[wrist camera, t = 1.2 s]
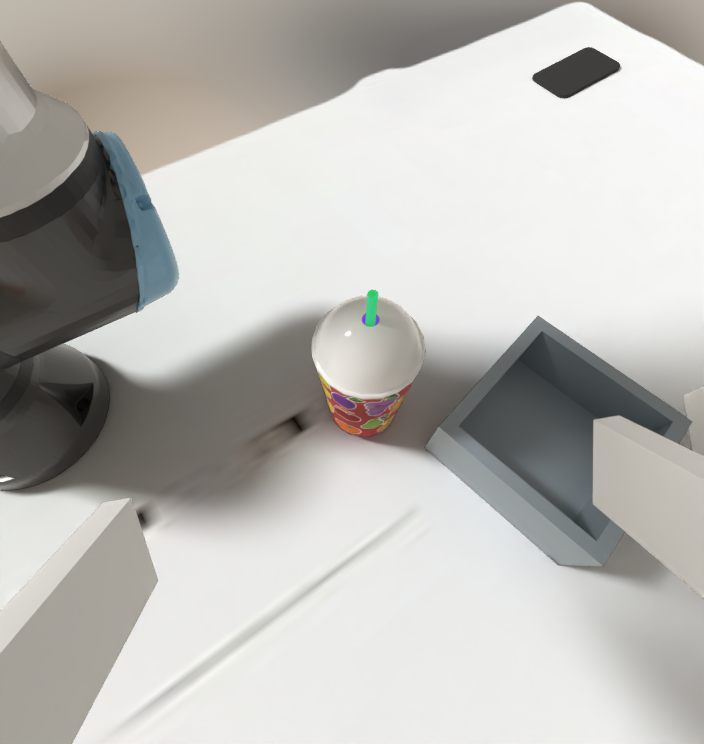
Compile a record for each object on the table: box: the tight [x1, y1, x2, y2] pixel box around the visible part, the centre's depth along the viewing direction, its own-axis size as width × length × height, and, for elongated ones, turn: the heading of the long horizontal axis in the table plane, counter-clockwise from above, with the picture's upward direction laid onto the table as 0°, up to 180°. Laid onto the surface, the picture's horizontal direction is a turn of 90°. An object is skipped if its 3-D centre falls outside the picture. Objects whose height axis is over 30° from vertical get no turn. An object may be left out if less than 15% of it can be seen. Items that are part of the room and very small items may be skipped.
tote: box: [425, 316, 693, 566], centre depth 37 cm, size 15×15×7 cm
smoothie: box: [312, 290, 426, 437], centre depth 33 cm, size 8×8×20 cm
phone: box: [532, 47, 620, 98], centre depth 67 cm, size 7×1×15 cm
